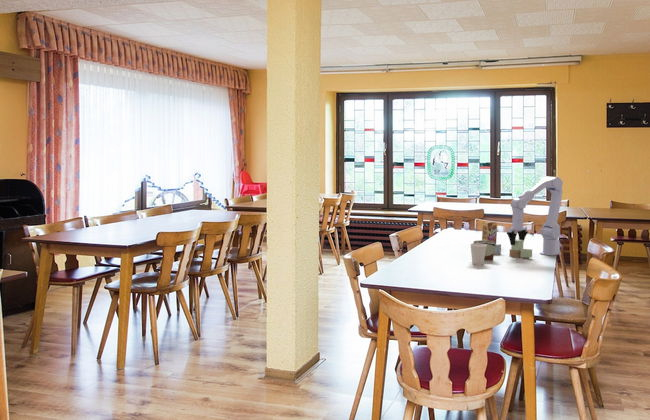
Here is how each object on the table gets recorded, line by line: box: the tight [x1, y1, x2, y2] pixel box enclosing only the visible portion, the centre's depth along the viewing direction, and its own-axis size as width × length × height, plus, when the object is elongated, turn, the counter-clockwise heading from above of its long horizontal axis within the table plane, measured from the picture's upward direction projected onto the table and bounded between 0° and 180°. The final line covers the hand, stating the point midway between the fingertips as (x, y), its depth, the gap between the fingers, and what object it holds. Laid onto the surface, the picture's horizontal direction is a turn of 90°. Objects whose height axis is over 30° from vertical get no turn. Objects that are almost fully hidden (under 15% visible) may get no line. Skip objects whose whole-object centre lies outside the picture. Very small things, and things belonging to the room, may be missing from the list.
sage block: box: [510, 238, 524, 251], centre depth 351 cm, size 4×4×6 cm
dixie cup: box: [469, 243, 487, 265], centre depth 327 cm, size 8×8×10 cm
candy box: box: [481, 221, 498, 244], centre depth 386 cm, size 9×4×15 cm, turn 123°
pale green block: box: [520, 248, 533, 260], centre depth 345 cm, size 3×6×5 cm, turn 72°
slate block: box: [494, 243, 502, 256], centre depth 360 cm, size 4×4×6 cm
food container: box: [472, 239, 497, 262], centre depth 340 cm, size 12×6×10 cm, turn 65°
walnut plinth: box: [509, 248, 521, 259], centre depth 351 cm, size 6×6×4 cm
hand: (516, 244), depth 351 cm, fingers open, 7 cm apart
